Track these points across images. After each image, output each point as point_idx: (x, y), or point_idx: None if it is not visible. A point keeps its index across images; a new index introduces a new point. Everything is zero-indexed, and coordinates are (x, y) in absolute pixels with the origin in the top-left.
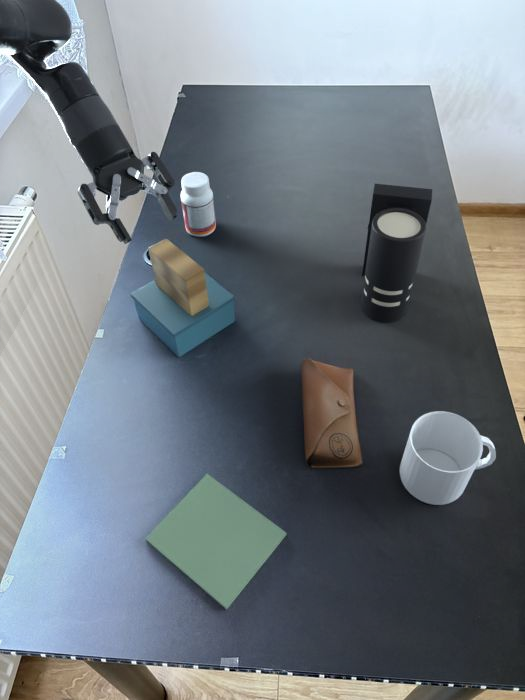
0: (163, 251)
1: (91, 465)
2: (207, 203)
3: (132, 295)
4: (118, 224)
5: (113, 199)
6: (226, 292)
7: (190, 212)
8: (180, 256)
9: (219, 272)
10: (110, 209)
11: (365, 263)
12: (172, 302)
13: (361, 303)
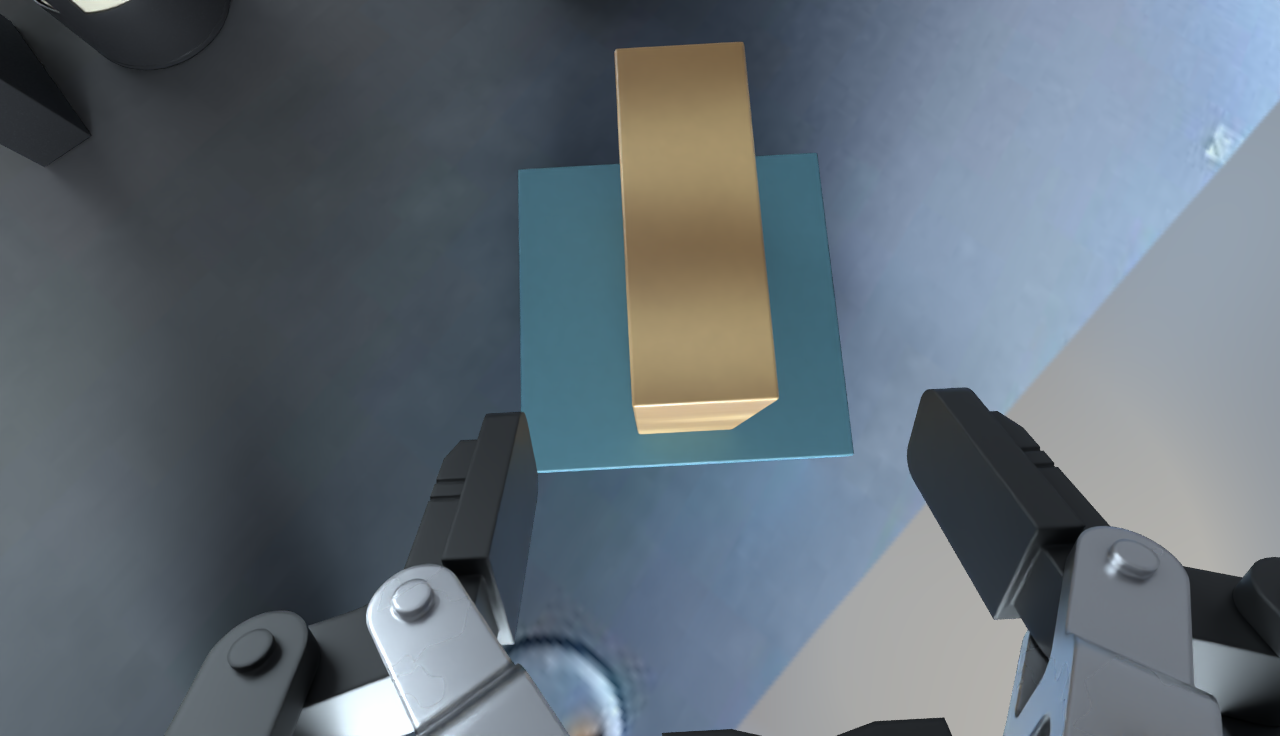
0: (716, 307)
1: (1160, 65)
2: None
3: (851, 438)
4: (1049, 484)
5: (1167, 705)
6: (528, 204)
7: None
8: (658, 209)
9: (432, 468)
10: (1170, 630)
11: (30, 94)
12: None
13: (199, 33)
